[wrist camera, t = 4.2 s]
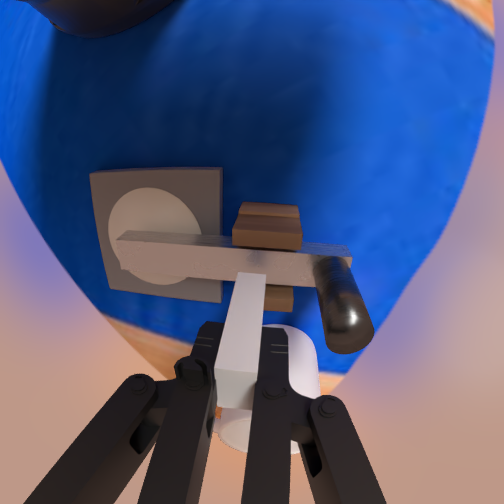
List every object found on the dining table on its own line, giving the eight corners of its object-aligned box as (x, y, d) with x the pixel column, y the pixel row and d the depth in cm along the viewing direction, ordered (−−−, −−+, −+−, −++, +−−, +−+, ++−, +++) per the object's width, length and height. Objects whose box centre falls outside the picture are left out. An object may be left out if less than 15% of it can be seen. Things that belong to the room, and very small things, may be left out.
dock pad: (97, 170, 19) (88, 174, 18) (222, 167, 19) (219, 170, 18) (115, 281, 24) (109, 289, 23) (223, 294, 24) (220, 303, 23)
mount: (242, 201, 20) (232, 225, 15) (297, 205, 20) (303, 231, 15) (240, 272, 23) (232, 309, 18) (289, 275, 22) (291, 314, 18)
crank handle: (127, 229, 19) (65, 285, 12) (346, 245, 18) (380, 318, 11) (131, 258, 20) (78, 319, 13) (340, 274, 19) (365, 353, 12)
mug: (229, 386, 30) (216, 460, 21) (190, 343, 27) (161, 425, 18) (325, 361, 27) (335, 446, 18) (297, 308, 24) (303, 407, 15)
